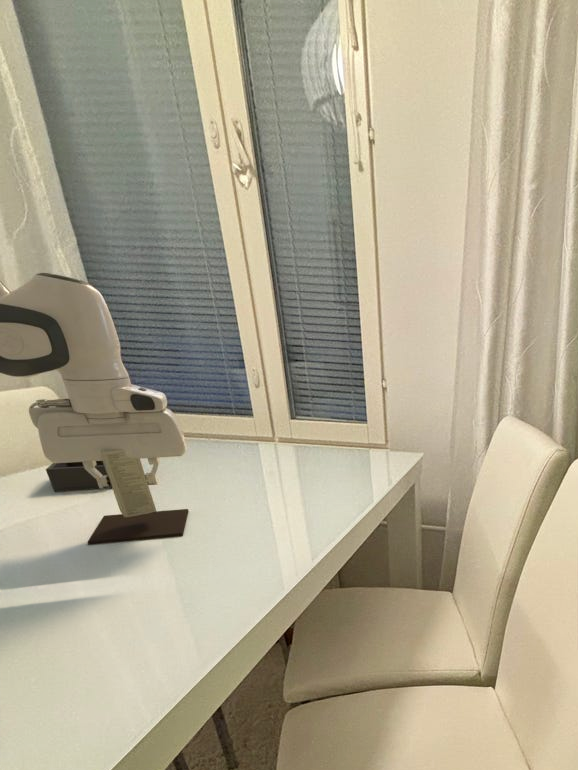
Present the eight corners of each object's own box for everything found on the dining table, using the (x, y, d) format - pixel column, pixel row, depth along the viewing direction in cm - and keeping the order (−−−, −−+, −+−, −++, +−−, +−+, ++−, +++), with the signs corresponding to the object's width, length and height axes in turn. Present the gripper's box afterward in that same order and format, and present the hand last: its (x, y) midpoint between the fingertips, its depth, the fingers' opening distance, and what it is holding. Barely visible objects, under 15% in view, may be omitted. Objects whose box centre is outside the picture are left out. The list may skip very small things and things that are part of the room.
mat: (88, 544, 89) (87, 541, 89) (104, 518, 100) (103, 515, 100) (183, 535, 94) (182, 532, 93) (188, 511, 105) (188, 508, 104)
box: (151, 506, 98) (132, 442, 93) (157, 512, 96) (138, 446, 90) (118, 511, 95) (96, 446, 90) (123, 518, 93) (101, 450, 87)
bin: (54, 491, 114) (45, 469, 111) (68, 476, 124) (61, 455, 121) (117, 487, 117) (110, 465, 115) (127, 473, 127) (120, 452, 125)
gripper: (17, 402, 80) (53, 496, 87) (171, 398, 87) (193, 486, 94) (30, 397, 85) (63, 485, 92) (175, 393, 92) (195, 477, 99)
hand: (130, 485), depth 93 cm, fingers closed on box, 6 cm apart
